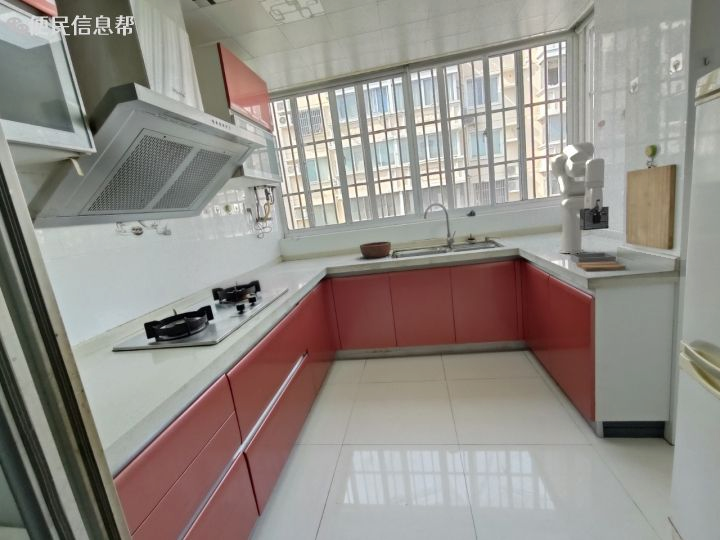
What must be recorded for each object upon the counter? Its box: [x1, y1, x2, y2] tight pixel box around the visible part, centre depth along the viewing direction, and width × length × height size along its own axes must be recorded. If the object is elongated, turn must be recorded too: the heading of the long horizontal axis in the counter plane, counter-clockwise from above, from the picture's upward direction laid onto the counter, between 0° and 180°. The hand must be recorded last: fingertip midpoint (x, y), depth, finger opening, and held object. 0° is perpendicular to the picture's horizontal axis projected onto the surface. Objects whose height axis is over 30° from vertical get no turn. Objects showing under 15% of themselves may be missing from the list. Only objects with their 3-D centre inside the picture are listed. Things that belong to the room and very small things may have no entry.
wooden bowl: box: [359, 241, 392, 259], centre depth 264 cm, size 25×25×10 cm
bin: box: [570, 251, 617, 264], centre depth 166 cm, size 13×16×3 cm
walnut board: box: [576, 261, 627, 272], centre depth 153 cm, size 13×15×2 cm
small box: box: [579, 206, 610, 231], centre depth 161 cm, size 11×6×10 cm, turn 74°
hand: (593, 222), depth 161 cm, fingers closed on small box, 6 cm apart
